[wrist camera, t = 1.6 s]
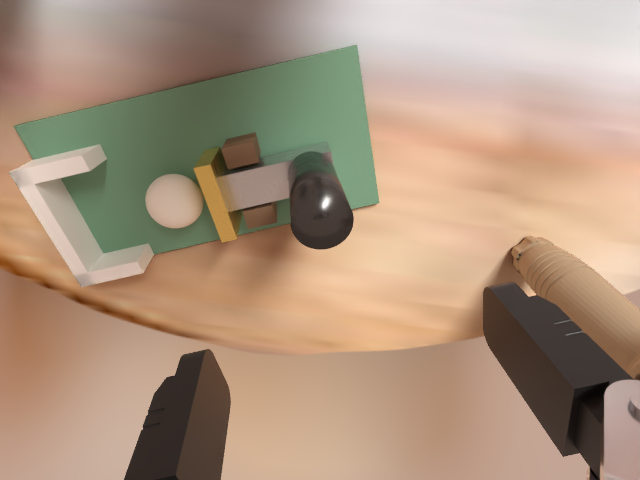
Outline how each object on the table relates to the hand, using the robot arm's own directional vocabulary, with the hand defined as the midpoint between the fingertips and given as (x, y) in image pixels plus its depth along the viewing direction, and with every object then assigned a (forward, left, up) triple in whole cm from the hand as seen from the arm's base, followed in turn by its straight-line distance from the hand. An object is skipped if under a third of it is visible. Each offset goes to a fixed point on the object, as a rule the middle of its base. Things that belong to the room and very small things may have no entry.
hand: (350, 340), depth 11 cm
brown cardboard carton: (0, -4, -18) cm, 19 cm away
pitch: (-1, -6, -18) cm, 19 cm away
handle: (+12, +17, -18) cm, 27 cm away
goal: (0, -15, -18) cm, 24 cm away
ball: (0, -9, -16) cm, 18 cm away
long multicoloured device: (0, -2, -17) cm, 18 cm away
